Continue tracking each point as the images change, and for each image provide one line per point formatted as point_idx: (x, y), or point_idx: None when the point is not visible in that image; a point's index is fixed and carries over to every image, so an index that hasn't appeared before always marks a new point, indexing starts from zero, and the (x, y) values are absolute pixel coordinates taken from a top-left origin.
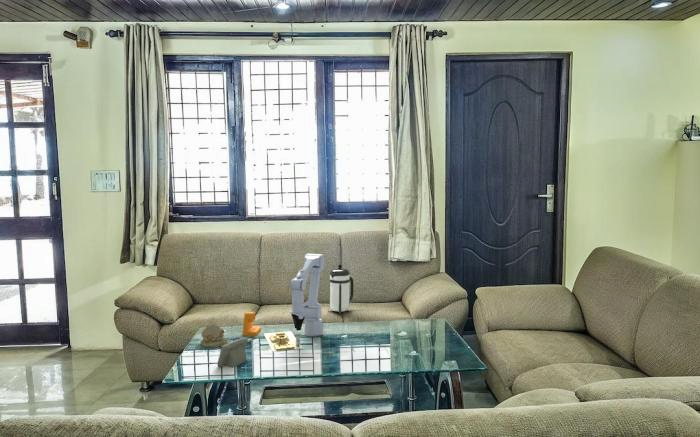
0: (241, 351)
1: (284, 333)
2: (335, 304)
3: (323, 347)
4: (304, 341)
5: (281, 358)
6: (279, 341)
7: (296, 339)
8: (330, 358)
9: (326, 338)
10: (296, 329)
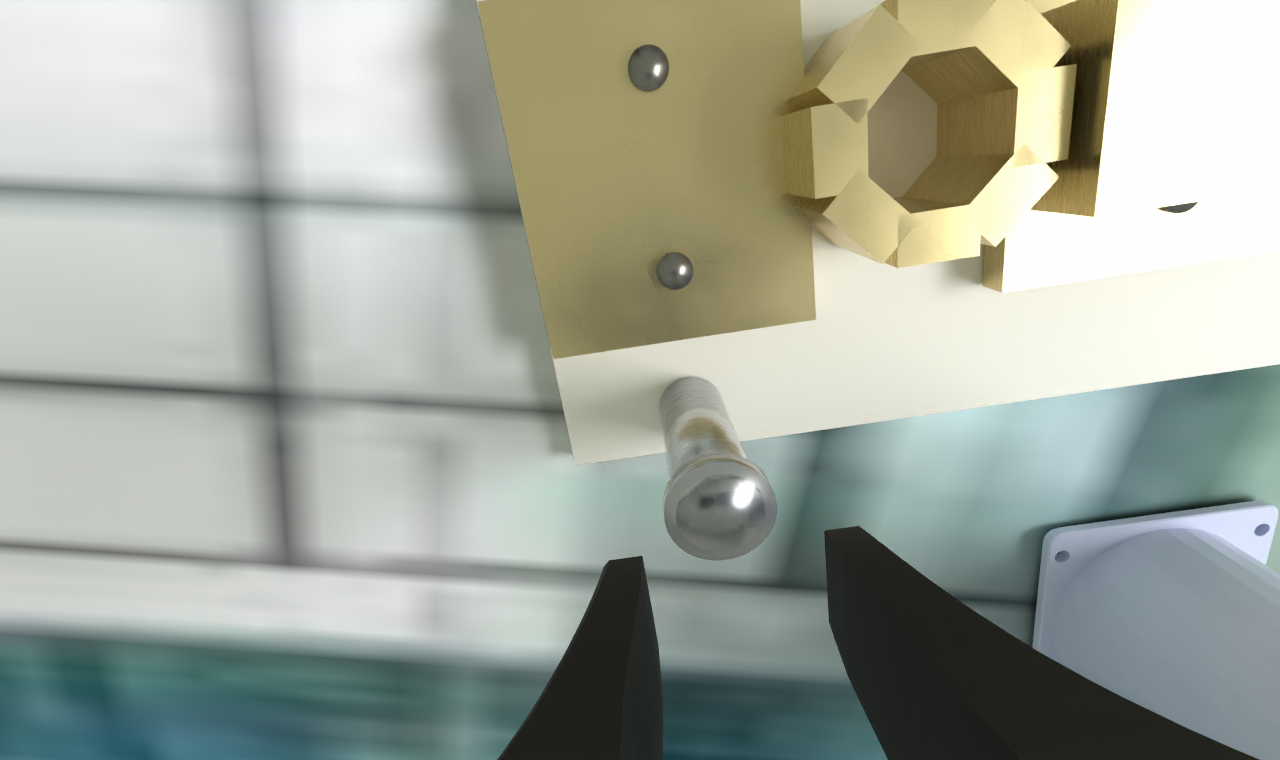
0: None
1: (1091, 206)
2: None
3: None
4: (922, 498)
5: (192, 106)
6: (810, 79)
7: (681, 432)
8: (256, 724)
9: None
10: (610, 572)
